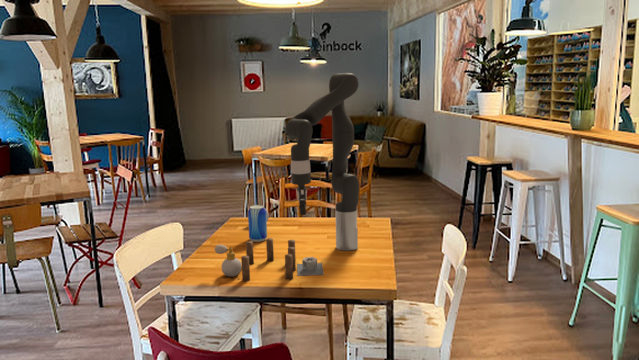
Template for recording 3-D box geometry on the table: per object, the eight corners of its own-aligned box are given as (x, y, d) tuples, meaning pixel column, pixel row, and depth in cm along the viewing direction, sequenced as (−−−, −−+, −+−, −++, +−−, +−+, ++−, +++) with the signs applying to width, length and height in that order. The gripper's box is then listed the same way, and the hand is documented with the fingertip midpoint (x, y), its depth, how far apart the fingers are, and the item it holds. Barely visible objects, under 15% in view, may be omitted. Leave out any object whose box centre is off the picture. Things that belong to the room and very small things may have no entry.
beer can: (264, 242, 217) (262, 209, 214) (246, 242, 219) (245, 208, 216) (269, 237, 225) (268, 204, 222) (252, 236, 227) (251, 204, 224)
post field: (295, 257, 197) (294, 237, 195) (295, 279, 174) (295, 256, 173) (247, 259, 196) (246, 239, 194) (242, 281, 173) (240, 258, 172)
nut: (317, 266, 186) (316, 256, 186) (317, 271, 182) (317, 261, 181) (302, 266, 186) (302, 257, 185) (302, 271, 181) (302, 261, 180)
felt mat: (321, 263, 190) (321, 263, 190) (323, 274, 178) (323, 274, 178) (297, 264, 189) (297, 263, 189) (297, 275, 178) (297, 275, 178)
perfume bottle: (242, 278, 177) (240, 247, 174) (215, 280, 175) (213, 249, 173) (241, 270, 184) (240, 241, 182) (216, 273, 182) (214, 243, 180)
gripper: (311, 174, 175) (313, 216, 178) (309, 167, 189) (310, 206, 192) (291, 175, 174) (293, 217, 178) (290, 168, 188) (292, 207, 192)
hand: (302, 211), depth 185 cm, fingers open, 8 cm apart
